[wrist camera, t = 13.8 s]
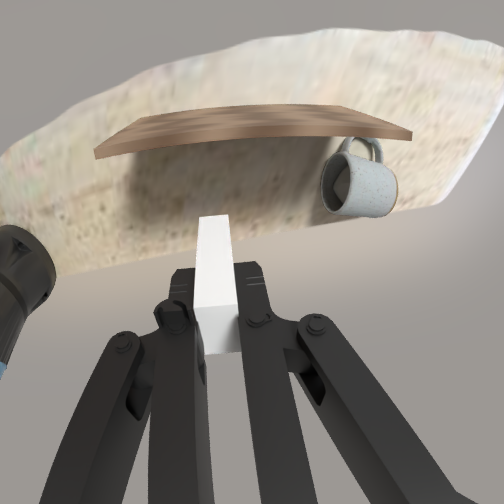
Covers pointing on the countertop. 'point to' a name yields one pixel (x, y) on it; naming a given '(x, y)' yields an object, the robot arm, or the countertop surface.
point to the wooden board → (246, 126)
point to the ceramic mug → (358, 183)
